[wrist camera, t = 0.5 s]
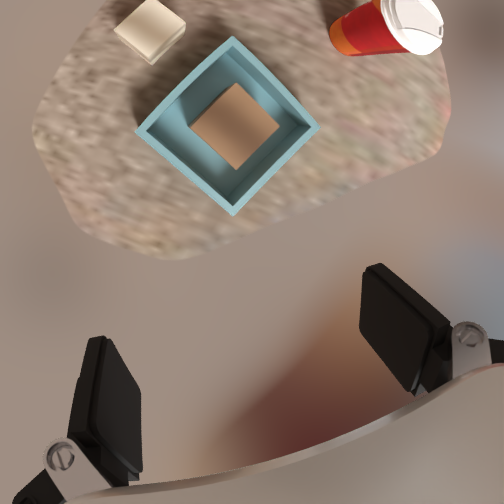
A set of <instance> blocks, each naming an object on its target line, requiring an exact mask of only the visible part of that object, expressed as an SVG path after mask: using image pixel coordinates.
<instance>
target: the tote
mask: <svg viewBox="0 0 504 504" xmlns="http://www.w3.org/2000/svg"><path fill="white" fill-rule="evenodd" d="M234 83H238V84H239V85H240V86H241V87H242V88H243V89H244V90H245V91H246V92H247V93H248V94H249V95H250V96H251V97H252V98H253V99H254V100H255V101H256V102H257V103H258V104H259V105H260V106H261V107H262V108H263V109H264V110H265V111H266V112H267V113H268V114H269V115H270V116H271V117H272V118H273V119H274V121H275V122H276V123H277V124H278V125H279V126H280V127H279V128H278V129H277V130H276V131H275V132H274V133H273V134H272V135H271V136H270V137H269V138H268V139H267V140H266V141H265V142H264V143H263V144H262V145H261V146H260V147H259V148H258V149H257V150H256V151H255V152H254V153H253V154H252V155H251V156H250V157H249V158H248V159H247V160H246V161H245V162H244V163H243V164H242V165H241V166H240V167H239V168H238V169H237V170H236V169H234V168H233V167H232V166H231V165H230V164H229V163H228V162H226V161H225V160H224V159H223V158H222V157H221V156H220V155H219V154H218V153H217V152H216V151H214V150H213V149H212V148H211V147H210V146H209V145H208V144H207V143H206V142H205V141H203V140H202V139H201V138H200V137H199V136H198V135H197V134H196V133H194V132H193V131H192V130H191V129H190V128H189V127H188V125H189V124H190V123H191V122H192V121H193V120H194V119H195V118H196V117H197V116H198V115H199V114H200V113H201V112H202V111H203V110H204V109H205V108H206V107H207V106H208V105H209V104H210V103H211V102H212V101H213V100H214V99H215V98H216V97H217V96H218V95H219V94H220V93H221V92H222V91H223V90H224V89H225V88H227V87H229V86H230V85H232V84H234ZM320 128H321V127H320V126H319V125H318V124H317V122H316V121H315V120H314V119H313V118H312V117H311V115H310V114H309V113H308V112H307V111H306V110H305V108H304V107H303V106H302V105H301V104H300V103H299V102H298V101H297V100H296V98H295V97H294V96H293V95H292V94H291V93H290V92H289V91H288V90H287V89H286V88H285V87H284V85H283V84H282V83H281V82H280V81H279V80H278V79H277V78H276V77H275V76H274V75H273V74H272V73H271V72H270V71H269V70H268V69H267V68H266V67H265V66H264V65H263V64H262V63H261V62H260V61H259V60H258V59H257V58H256V57H255V56H254V55H253V54H252V53H251V52H250V51H249V50H248V49H247V48H246V47H245V46H243V45H242V44H241V43H240V42H239V41H238V40H237V39H236V38H235V37H234V36H231V37H230V38H229V39H228V40H227V41H225V42H224V43H223V44H222V45H221V46H220V47H218V48H217V49H216V50H215V51H214V52H213V53H212V54H210V55H209V56H208V57H207V58H206V59H205V60H204V61H203V62H202V63H200V64H199V65H198V66H197V67H196V68H195V69H194V70H193V71H192V72H191V73H190V74H189V75H188V76H187V77H186V78H185V79H184V80H183V81H182V82H181V83H180V84H179V85H178V86H177V87H176V88H175V89H174V90H173V91H172V92H171V93H170V94H169V95H168V96H167V97H166V98H165V99H164V100H163V101H162V102H161V103H160V104H159V105H158V106H157V107H156V108H155V110H154V111H153V112H152V113H151V114H150V115H149V116H148V117H147V118H146V119H145V121H144V122H143V123H142V124H141V125H140V126H139V127H138V129H137V130H136V131H135V133H136V134H137V135H138V136H140V137H141V138H142V139H143V140H144V141H145V142H147V143H148V144H149V145H150V146H151V147H153V148H154V149H155V150H156V151H157V152H158V153H160V154H161V155H162V156H163V157H164V158H165V159H167V160H168V161H169V162H170V163H171V164H173V165H174V166H175V167H176V168H177V169H178V170H180V171H181V172H182V173H183V174H184V175H185V176H187V177H188V178H189V179H190V180H191V181H192V182H194V183H195V184H196V185H197V186H198V187H199V188H201V189H202V190H203V191H204V192H205V193H206V194H207V195H209V196H210V197H211V198H212V199H213V200H214V201H216V202H217V203H218V204H219V205H220V206H221V207H223V208H224V209H225V210H226V211H227V212H228V213H229V214H231V215H232V216H234V215H235V214H236V213H237V212H238V211H239V210H240V209H241V208H242V207H243V206H244V205H245V204H246V202H247V201H248V200H249V199H250V198H251V197H252V196H253V195H254V194H255V193H256V192H257V191H258V190H259V189H260V188H261V187H262V186H263V185H264V184H265V183H266V182H267V181H268V180H269V179H270V178H271V177H272V176H273V175H274V174H275V173H276V172H277V171H278V170H279V169H280V168H281V167H282V165H283V164H284V163H285V162H286V161H287V160H288V159H289V158H290V157H291V156H292V155H293V154H294V153H295V152H296V151H297V150H298V149H299V148H300V147H301V146H302V145H303V144H304V143H305V142H306V141H307V140H309V139H310V138H311V137H312V136H313V135H314V134H315V133H316V132H317V131H318V130H319V129H320Z"/></svg>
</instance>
